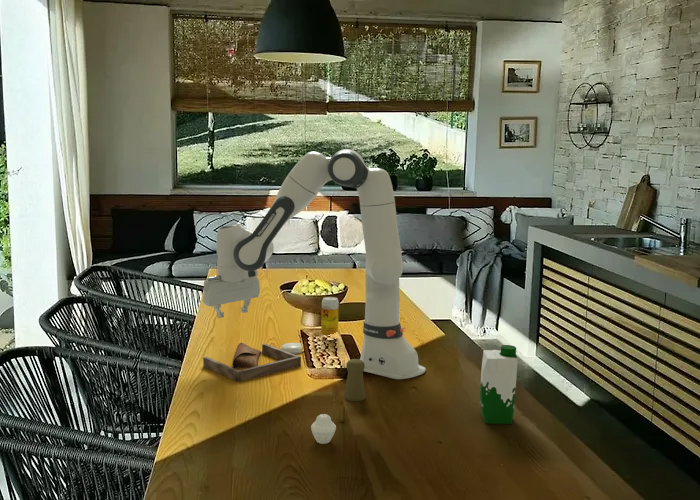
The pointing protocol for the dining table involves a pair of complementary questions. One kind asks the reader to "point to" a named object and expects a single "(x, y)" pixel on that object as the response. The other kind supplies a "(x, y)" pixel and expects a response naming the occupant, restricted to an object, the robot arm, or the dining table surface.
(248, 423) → the dining table surface
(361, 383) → the pepper mill
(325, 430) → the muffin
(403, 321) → the dining table surface
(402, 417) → the dining table surface
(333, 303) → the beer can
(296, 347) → the ring dish
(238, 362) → the sunglasses case
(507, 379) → the milk carton
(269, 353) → the open wooden frame
